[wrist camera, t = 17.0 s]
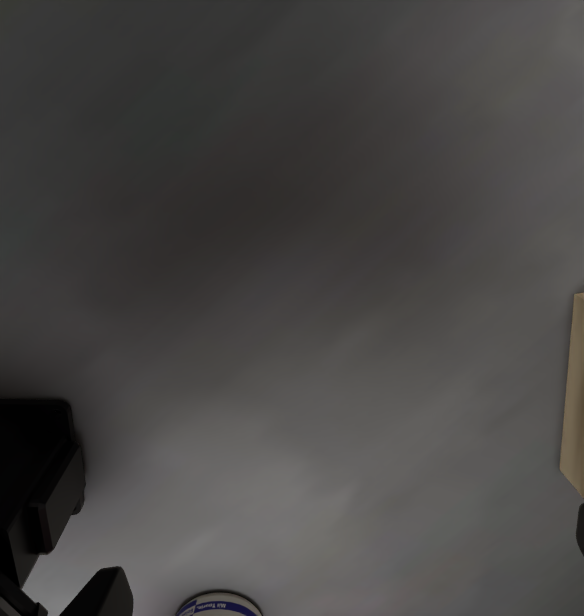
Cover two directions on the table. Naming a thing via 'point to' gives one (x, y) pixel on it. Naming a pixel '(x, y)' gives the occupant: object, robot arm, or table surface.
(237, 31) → the table surface
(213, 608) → the energy drink
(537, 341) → the table surface
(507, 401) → the table surface
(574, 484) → the birch block
